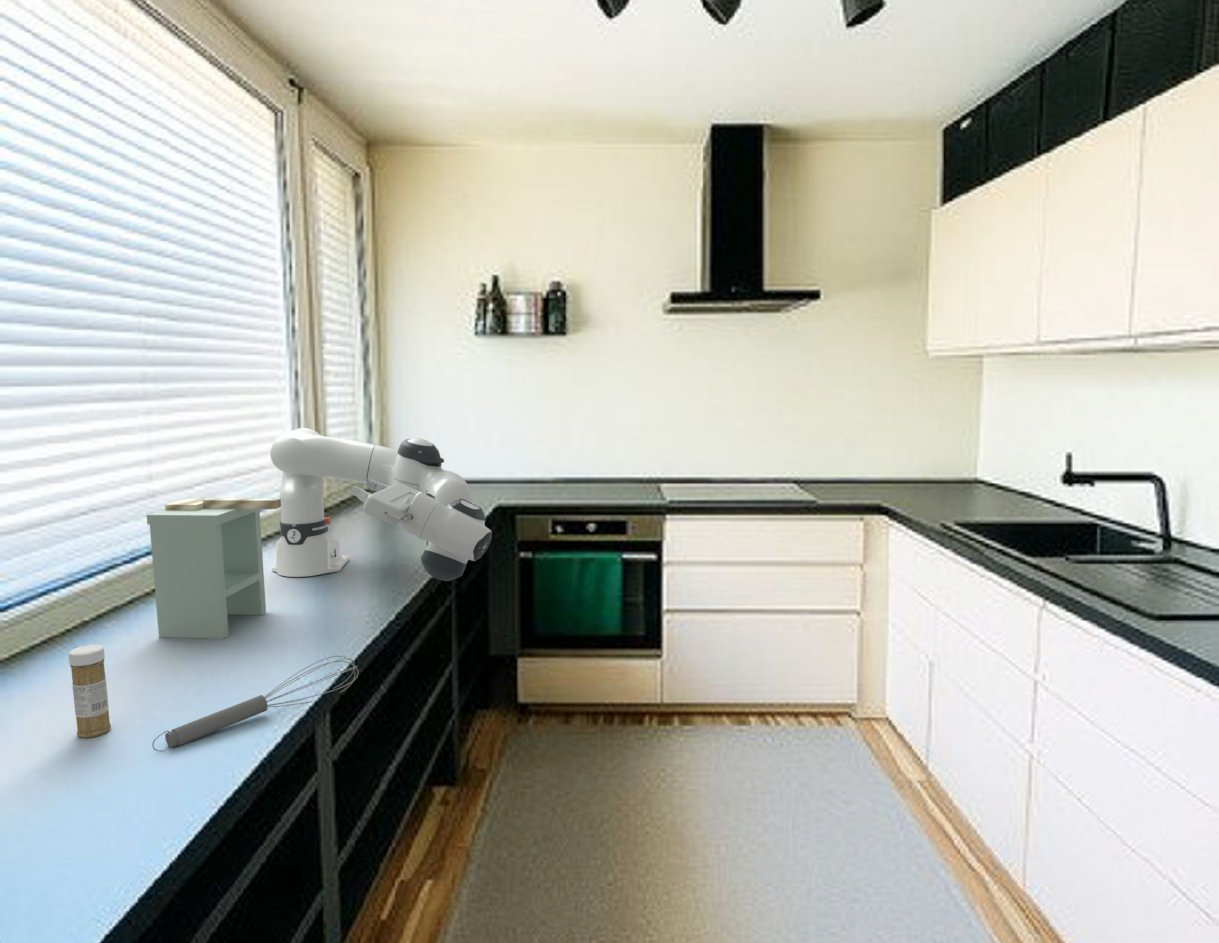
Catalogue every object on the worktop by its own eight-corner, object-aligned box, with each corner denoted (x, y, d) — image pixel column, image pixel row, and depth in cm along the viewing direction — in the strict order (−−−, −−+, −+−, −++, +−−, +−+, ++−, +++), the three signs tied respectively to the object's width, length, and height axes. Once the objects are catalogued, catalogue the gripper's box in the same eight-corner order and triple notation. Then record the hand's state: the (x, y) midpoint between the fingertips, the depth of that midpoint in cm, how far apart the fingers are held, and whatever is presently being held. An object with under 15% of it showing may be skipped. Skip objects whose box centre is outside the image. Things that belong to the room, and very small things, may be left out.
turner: (165, 510, 171) (164, 501, 171) (184, 504, 178) (184, 496, 178) (270, 510, 170) (270, 502, 169) (286, 505, 177) (285, 497, 176)
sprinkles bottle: (106, 723, 129) (98, 641, 127) (115, 731, 126) (107, 648, 124) (72, 732, 125) (64, 649, 124) (81, 741, 122) (72, 656, 121)
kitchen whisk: (145, 748, 121) (141, 707, 120) (346, 681, 146) (345, 647, 146) (162, 761, 117) (158, 719, 116) (366, 690, 142) (365, 655, 142)
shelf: (205, 611, 187) (197, 500, 184) (268, 612, 186) (261, 500, 183) (156, 637, 169) (146, 514, 166) (225, 638, 168) (216, 515, 165)
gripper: (397, 536, 164) (336, 506, 164) (425, 519, 184) (370, 492, 184) (410, 509, 163) (348, 479, 163) (436, 494, 184) (381, 467, 183)
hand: (360, 485), depth 174 cm, fingers open, 8 cm apart
